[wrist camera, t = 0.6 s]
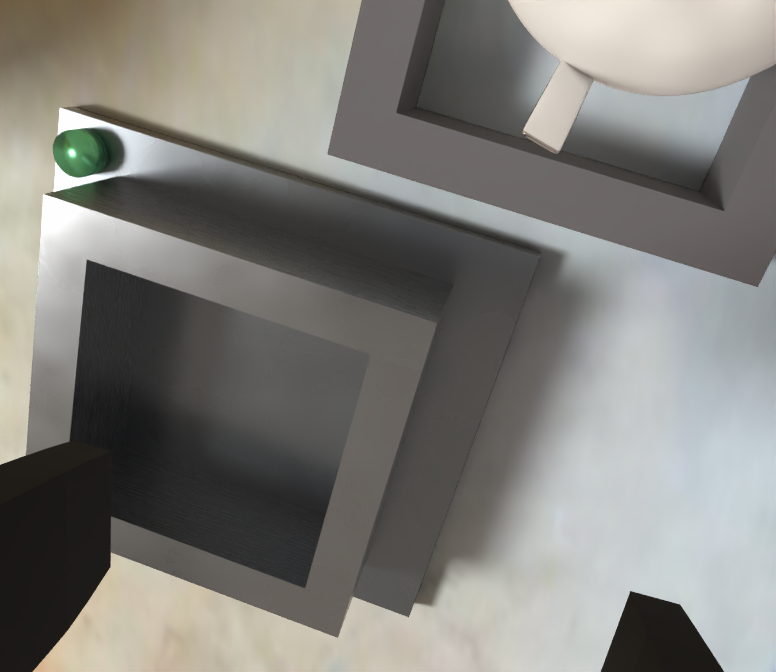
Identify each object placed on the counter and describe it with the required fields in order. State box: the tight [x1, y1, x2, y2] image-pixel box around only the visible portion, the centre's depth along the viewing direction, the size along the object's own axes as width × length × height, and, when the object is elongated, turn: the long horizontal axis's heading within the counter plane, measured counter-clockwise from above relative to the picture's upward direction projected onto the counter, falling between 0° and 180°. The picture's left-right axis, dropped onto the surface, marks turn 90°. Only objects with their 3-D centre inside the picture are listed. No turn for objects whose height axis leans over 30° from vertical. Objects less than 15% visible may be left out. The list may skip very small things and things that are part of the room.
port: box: [26, 107, 540, 638], centre depth 19 cm, size 13×12×4 cm
